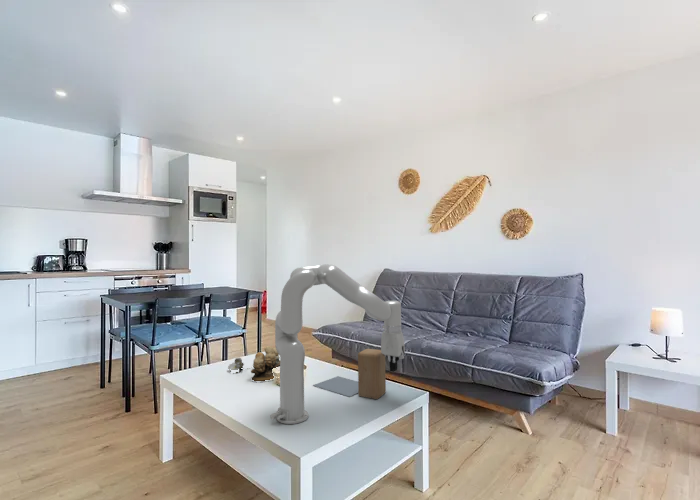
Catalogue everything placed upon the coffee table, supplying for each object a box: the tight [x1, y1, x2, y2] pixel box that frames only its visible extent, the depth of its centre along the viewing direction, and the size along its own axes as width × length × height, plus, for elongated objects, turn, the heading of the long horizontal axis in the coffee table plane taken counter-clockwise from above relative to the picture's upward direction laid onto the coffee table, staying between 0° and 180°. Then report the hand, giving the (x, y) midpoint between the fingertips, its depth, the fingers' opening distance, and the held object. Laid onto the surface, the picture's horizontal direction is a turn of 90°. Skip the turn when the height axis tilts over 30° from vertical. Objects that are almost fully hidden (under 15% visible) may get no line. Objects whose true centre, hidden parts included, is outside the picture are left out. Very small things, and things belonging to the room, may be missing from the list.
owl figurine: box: [250, 345, 280, 381], centre depth 209 cm, size 18×12×17 cm, turn 136°
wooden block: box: [357, 348, 387, 400], centre depth 182 cm, size 10×10×20 cm
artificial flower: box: [227, 357, 245, 371], centre depth 224 cm, size 9×22×10 cm, turn 116°
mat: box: [312, 375, 359, 398], centre depth 194 cm, size 18×24×1 cm
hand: (393, 370), depth 174 cm, fingers closed
